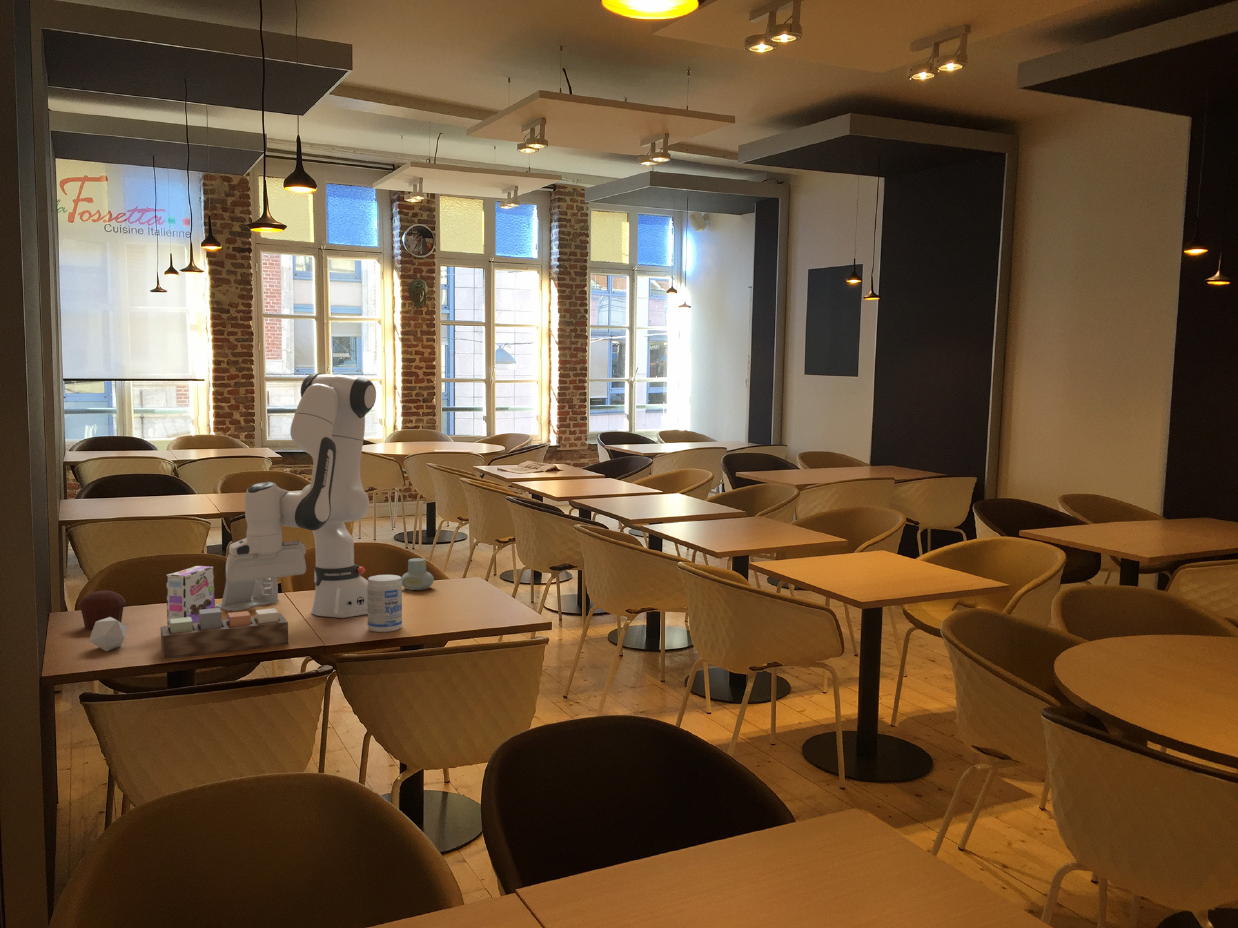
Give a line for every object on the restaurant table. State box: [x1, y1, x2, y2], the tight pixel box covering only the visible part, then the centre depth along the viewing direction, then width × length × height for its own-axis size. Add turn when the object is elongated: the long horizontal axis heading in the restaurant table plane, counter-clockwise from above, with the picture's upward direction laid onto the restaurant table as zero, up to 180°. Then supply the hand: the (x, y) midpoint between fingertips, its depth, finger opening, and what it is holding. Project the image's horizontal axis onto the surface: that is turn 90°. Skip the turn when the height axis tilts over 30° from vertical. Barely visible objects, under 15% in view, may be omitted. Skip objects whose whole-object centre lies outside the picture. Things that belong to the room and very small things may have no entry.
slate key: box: [199, 607, 223, 630], centre depth 250 cm, size 5×5×5 cm
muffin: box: [78, 589, 127, 631], centre depth 271 cm, size 12×11×10 cm
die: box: [88, 617, 128, 652], centre depth 250 cm, size 8×9×10 cm
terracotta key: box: [227, 610, 251, 627], centre depth 254 cm, size 5×5×5 cm
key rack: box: [160, 613, 289, 660], centre depth 252 cm, size 30×10×6 cm, turn 119°
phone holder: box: [215, 578, 280, 612], centre depth 298 cm, size 17×10×18 cm, turn 145°
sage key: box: [170, 617, 193, 633], centre depth 247 cm, size 5×5×5 cm
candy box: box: [165, 565, 216, 626], centre depth 271 cm, size 14×6×16 cm, turn 168°
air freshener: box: [400, 557, 435, 591], centre depth 322 cm, size 11×8×10 cm
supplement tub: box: [367, 574, 403, 633], centre depth 271 cm, size 10×10×15 cm
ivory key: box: [255, 607, 279, 624], centre depth 257 cm, size 5×5×5 cm
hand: (267, 594), depth 257 cm, fingers closed
